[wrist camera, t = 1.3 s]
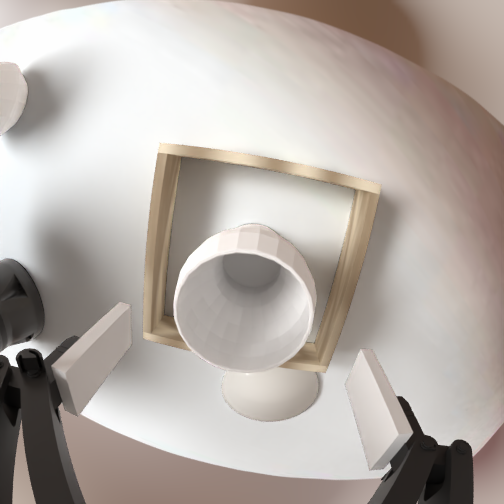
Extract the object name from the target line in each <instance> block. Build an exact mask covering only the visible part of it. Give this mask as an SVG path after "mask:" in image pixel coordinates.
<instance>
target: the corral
mask: <svg viewBox="0 0 504 504" xmlns="http://www.w3.org/2000/svg"><path fill="white" fill-rule="evenodd" d="M182 157H188V158H195V159H203V160H210V161H217V162H223V163H230V164H236V165H242V166H248V167H254V168H259V169H265V170H270V171H275V172H281V173H286V174H290V175H295V176H300V177H305V178H309V179H314V180H318V181H323V182H327V183H331V184H335V185H339V186H343V187H347V188H351V189H355V195H354V200H353V204H352V209H351V214H350V218H349V222H348V227H347V231H346V235H345V239H344V243H343V247H342V251H341V255H340V259H339V263H338V267H337V270H336V274H335V278H334V281H333V285H332V288H331V292H330V295H329V299H328V302H327V305H326V309H325V312H324V315H323V318H322V321H321V325H320V328H319V331H318V334H317V337H316V340H315V343H309V342H305V344H304V346H303V347H302V348H301V349H300V350H299V351H298V352H297V353H296V355H295V356H294V357H292V358H291V359H289V360H288V361H286V362H285V363H283V364H282V365H280V366H278V367H280V368H288V369H295V370H304V371H312V372H322V373H326V370H327V368H328V365H329V363H330V360H331V358H332V355H333V353H334V350H335V347H336V345H337V342H338V339H339V336H340V334H341V331H342V328H343V325H344V322H345V319H346V316H347V313H348V310H349V307H350V304H351V301H352V298H353V295H354V292H355V288H356V285H357V282H358V279H359V275H360V272H361V268H362V265H363V261H364V257H365V254H366V250H367V246H368V242H369V238H370V234H371V230H372V226H373V222H374V218H375V213H376V209H377V204H378V200H379V195H380V190H381V184H377V183H374V182H370V181H367V180H363V179H359V178H356V177H352V176H348V175H344V174H340V173H336V172H332V171H328V170H324V169H320V168H315V167H311V166H306V165H302V164H297V163H292V162H288V161H283V160H277V159H272V158H267V157H261V156H256V155H250V154H244V153H238V152H231V151H225V150H218V149H211V148H203V147H195V146H186V145H177V144H167V143H160V144H159V149H158V155H157V161H156V168H155V174H154V181H153V188H152V196H151V204H150V213H149V222H148V233H147V244H146V258H145V274H144V298H143V339H146V340H150V341H153V342H157V343H161V344H165V345H169V346H172V347H177V348H181V349H185V350H189V351H192V350H191V349H190V348H189V347H188V346H187V344H186V343H185V341H184V340H183V338H182V337H181V335H180V334H179V331H178V328H177V325H176V322H175V319H174V317H170V316H166V315H164V308H165V292H166V279H167V267H168V256H169V246H170V237H171V228H172V220H173V212H174V204H175V197H176V190H177V183H178V177H179V171H180V165H181V159H182Z"/></svg>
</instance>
